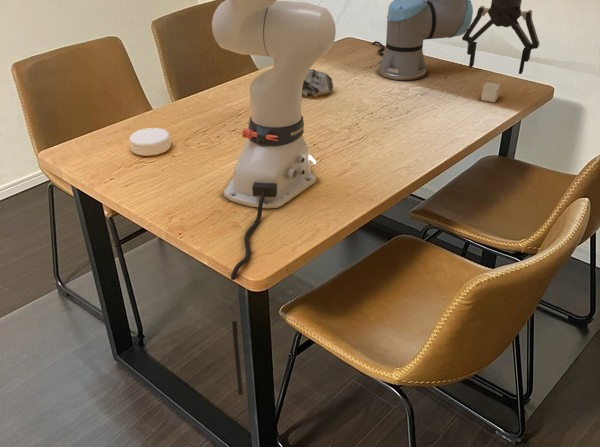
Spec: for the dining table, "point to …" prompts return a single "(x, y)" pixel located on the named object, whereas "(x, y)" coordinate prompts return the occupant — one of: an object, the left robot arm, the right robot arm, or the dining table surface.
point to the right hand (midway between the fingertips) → (495, 69)
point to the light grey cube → (490, 92)
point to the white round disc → (150, 141)
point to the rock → (316, 83)
